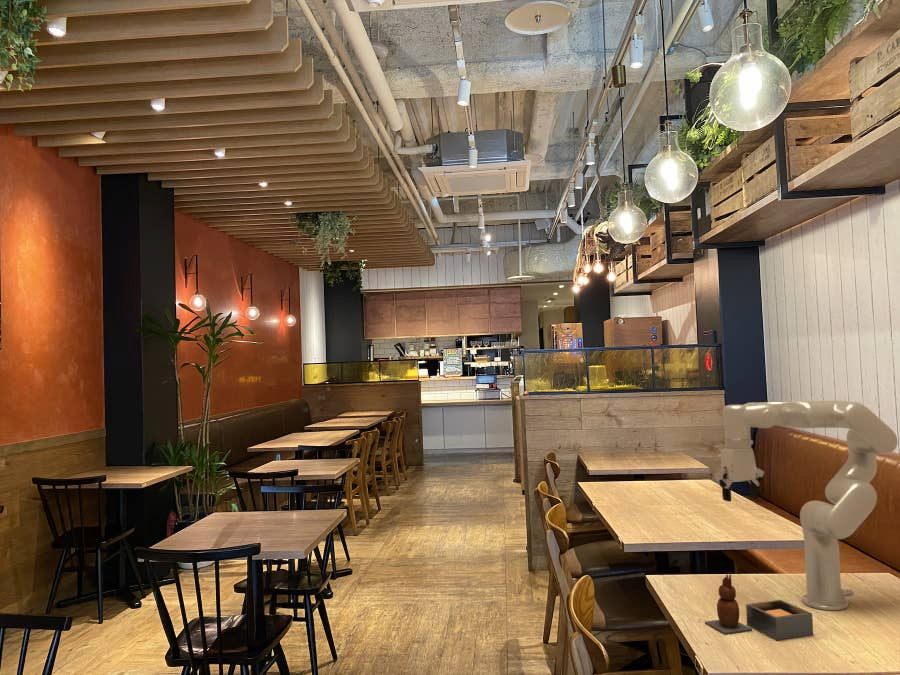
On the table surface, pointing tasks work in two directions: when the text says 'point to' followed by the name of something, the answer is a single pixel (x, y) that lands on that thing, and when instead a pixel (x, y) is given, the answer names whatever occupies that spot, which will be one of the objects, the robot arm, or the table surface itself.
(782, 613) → the button
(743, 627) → the mat
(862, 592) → the table surface
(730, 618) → the wooden figurine
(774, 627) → the box
